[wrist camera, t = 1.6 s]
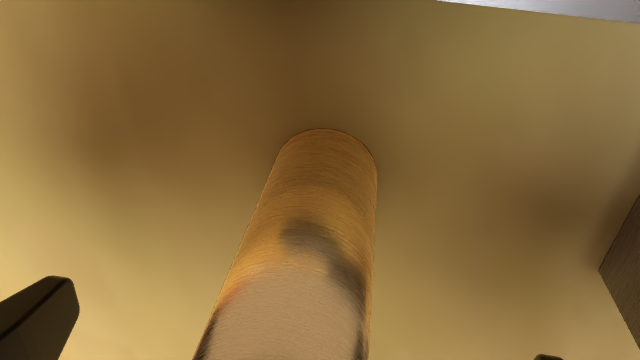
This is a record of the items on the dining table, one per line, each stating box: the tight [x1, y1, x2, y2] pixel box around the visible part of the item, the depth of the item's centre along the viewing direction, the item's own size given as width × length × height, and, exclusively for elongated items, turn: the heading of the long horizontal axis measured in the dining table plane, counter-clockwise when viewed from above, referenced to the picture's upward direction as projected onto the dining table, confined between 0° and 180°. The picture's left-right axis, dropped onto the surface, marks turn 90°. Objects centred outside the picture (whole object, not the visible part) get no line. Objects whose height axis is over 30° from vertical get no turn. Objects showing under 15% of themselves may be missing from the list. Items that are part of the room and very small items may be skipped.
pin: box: [192, 129, 378, 360], centre depth 10 cm, size 4×4×9 cm
